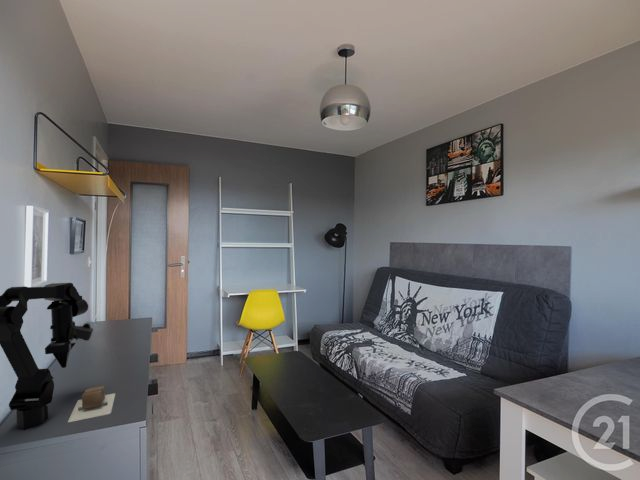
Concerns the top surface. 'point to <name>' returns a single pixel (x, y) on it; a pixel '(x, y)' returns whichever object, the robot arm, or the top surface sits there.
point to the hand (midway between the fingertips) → (64, 367)
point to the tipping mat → (92, 409)
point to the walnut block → (93, 397)
